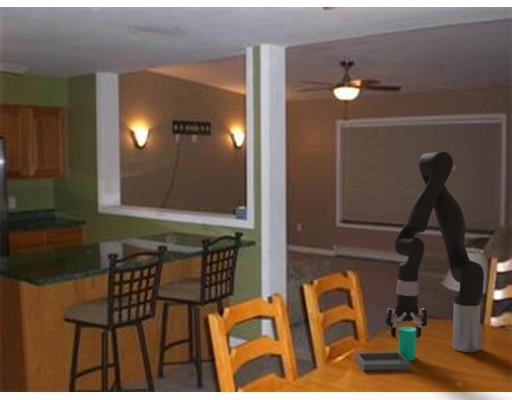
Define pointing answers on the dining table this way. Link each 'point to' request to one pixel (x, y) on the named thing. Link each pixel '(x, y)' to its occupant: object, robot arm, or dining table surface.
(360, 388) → the dining table surface
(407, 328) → the candle
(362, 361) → the tray
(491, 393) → the dining table surface
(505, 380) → the dining table surface
